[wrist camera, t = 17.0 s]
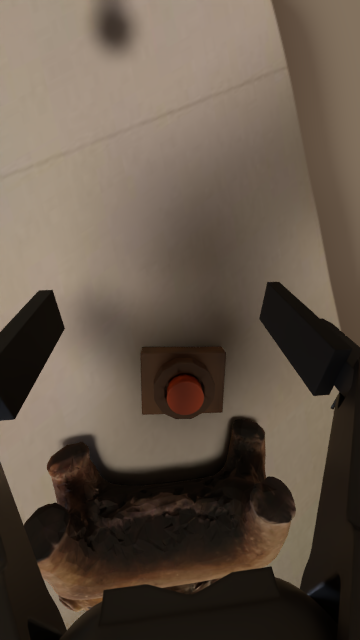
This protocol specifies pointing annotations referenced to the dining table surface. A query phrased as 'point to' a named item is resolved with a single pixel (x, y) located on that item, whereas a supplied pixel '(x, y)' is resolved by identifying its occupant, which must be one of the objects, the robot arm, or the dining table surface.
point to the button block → (176, 361)
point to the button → (184, 394)
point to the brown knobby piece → (158, 525)
